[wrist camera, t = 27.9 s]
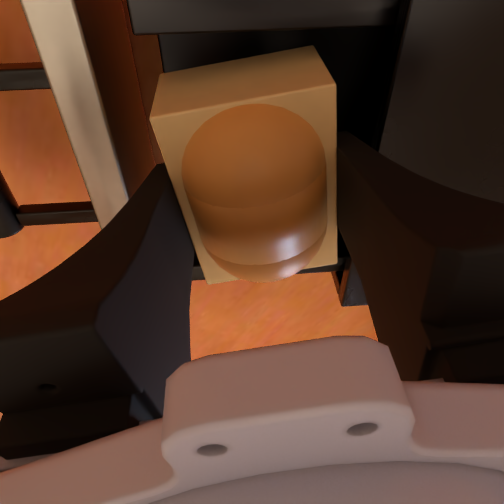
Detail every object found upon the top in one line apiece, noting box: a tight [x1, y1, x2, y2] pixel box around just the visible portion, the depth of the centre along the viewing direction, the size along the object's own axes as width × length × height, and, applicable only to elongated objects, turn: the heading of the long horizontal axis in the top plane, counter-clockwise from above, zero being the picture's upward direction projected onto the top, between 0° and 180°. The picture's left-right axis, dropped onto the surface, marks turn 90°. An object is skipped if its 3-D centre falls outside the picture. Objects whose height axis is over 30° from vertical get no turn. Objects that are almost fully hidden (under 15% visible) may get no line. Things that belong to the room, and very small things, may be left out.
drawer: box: [0, 0, 401, 281], centre depth 14 cm, size 17×10×5 cm, turn 91°
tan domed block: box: [149, 45, 337, 284], centre depth 12 cm, size 4×6×4 cm
